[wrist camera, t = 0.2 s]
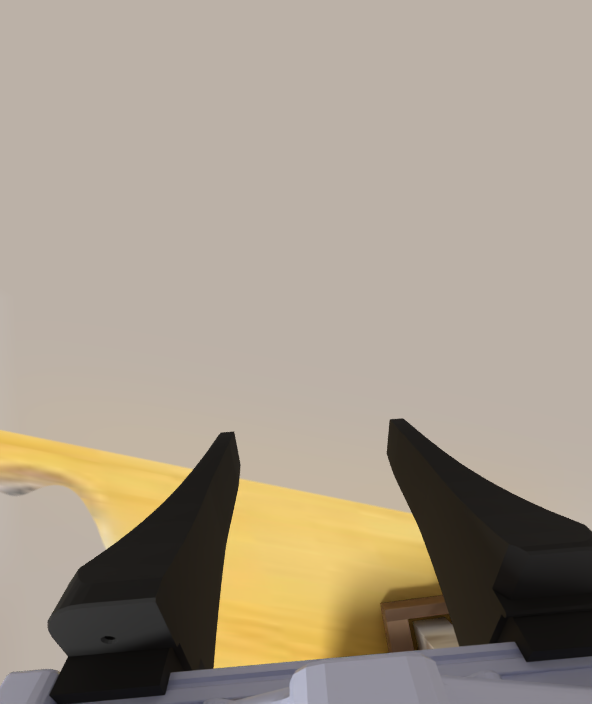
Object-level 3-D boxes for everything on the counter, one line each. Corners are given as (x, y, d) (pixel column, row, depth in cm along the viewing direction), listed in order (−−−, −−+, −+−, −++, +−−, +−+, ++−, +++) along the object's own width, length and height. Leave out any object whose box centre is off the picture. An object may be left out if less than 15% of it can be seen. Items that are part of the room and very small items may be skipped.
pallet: (583, 668, 33) (663, 721, 26) (396, 694, 33) (424, 757, 25) (551, 581, 37) (613, 606, 29) (380, 603, 36) (400, 635, 29)
